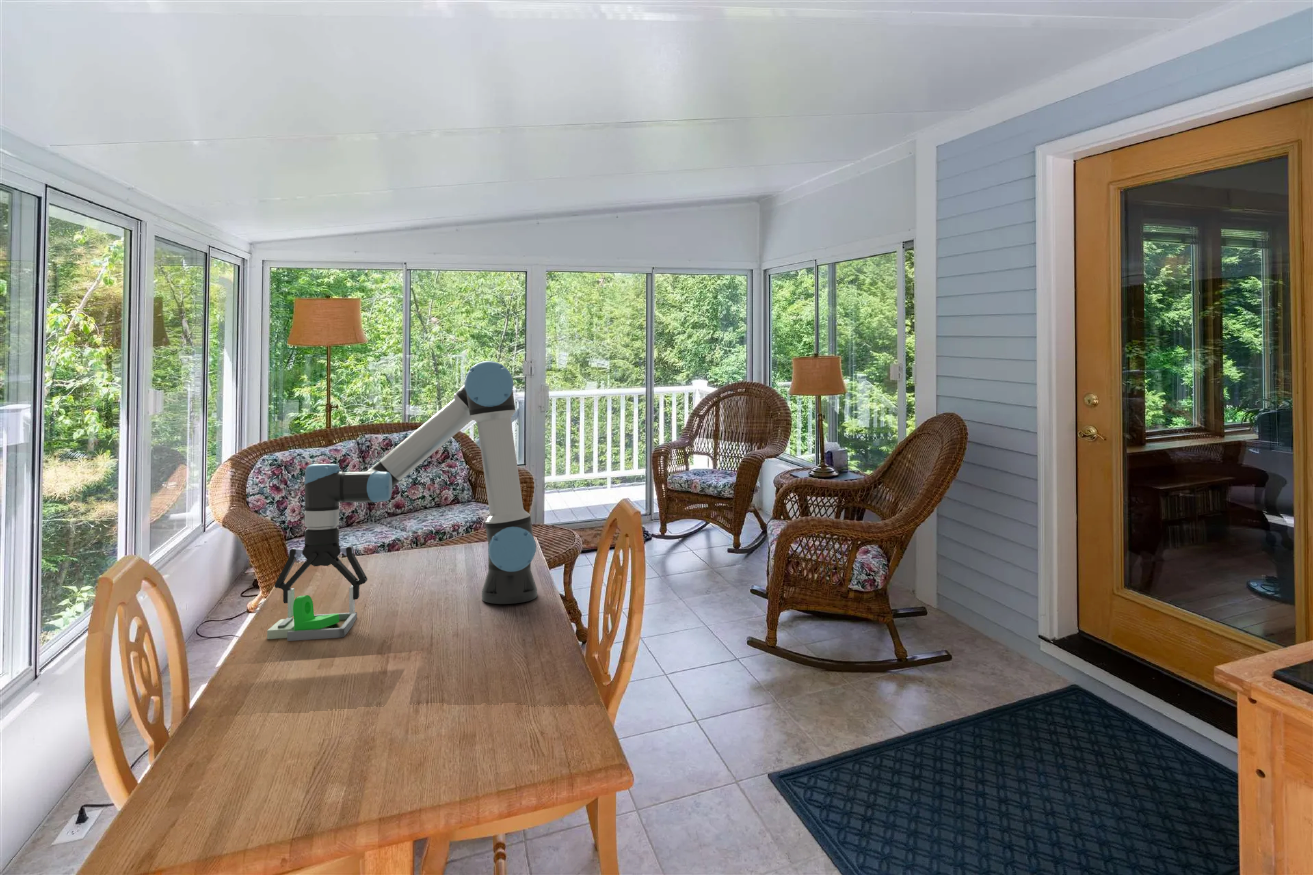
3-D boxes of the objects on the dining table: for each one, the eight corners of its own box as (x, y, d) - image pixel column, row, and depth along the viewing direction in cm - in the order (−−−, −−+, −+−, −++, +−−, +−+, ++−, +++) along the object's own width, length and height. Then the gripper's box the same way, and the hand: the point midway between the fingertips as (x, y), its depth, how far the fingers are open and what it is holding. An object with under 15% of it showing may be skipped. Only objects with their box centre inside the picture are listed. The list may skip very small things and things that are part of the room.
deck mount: (356, 619, 171) (356, 609, 171) (343, 637, 156) (343, 626, 156) (283, 624, 167) (283, 614, 167) (263, 642, 152) (263, 631, 152)
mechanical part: (320, 628, 155) (318, 594, 156) (294, 632, 155) (292, 597, 156) (343, 620, 167) (341, 588, 168) (319, 624, 167) (317, 591, 168)
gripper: (379, 523, 168) (379, 607, 168) (270, 527, 162) (270, 613, 162) (374, 527, 161) (374, 615, 161) (259, 531, 155) (259, 621, 155)
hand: (321, 614), depth 162 cm, fingers open, 13 cm apart
